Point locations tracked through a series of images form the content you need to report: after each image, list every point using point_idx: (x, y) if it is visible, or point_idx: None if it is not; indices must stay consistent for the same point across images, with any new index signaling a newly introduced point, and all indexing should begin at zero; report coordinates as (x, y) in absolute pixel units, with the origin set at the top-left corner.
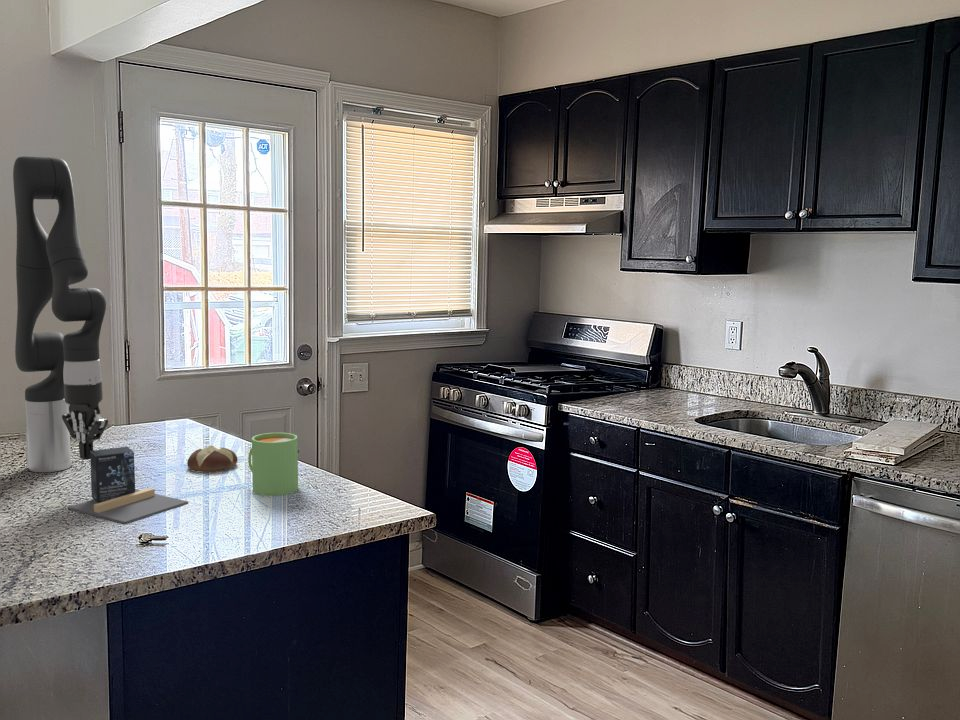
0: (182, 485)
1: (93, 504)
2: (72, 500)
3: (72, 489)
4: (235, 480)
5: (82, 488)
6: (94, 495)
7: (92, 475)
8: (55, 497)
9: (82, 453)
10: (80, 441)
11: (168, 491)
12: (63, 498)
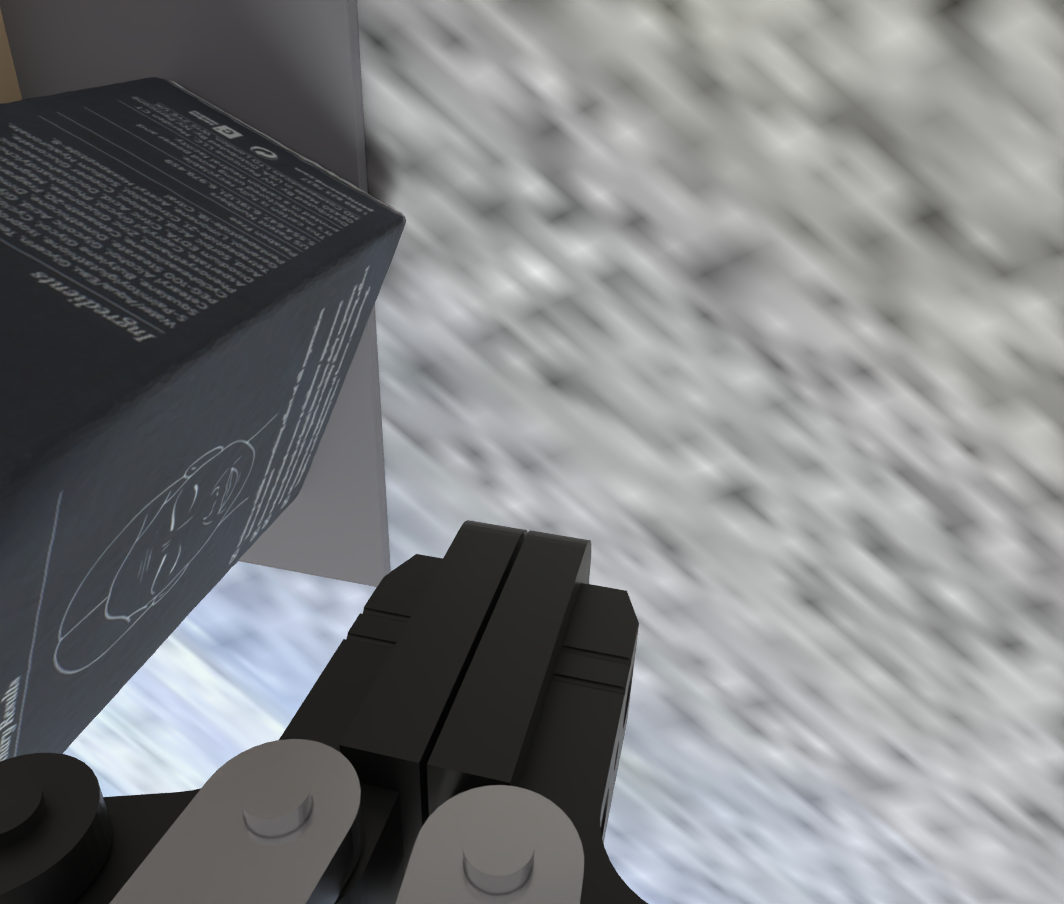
0: (216, 763)
1: (200, 52)
2: (592, 95)
3: (949, 411)
4: None
5: (866, 477)
6: (247, 152)
7: (161, 244)
8: (895, 77)
9: (483, 585)
10: (460, 813)
11: None
12: (760, 99)
